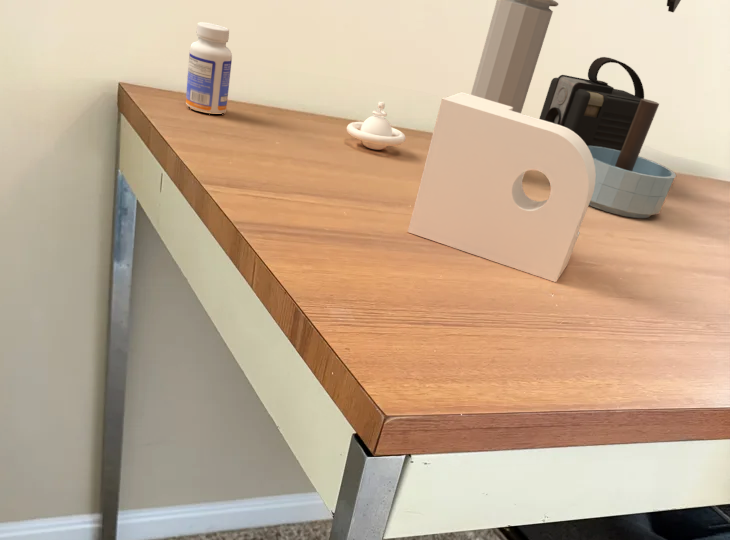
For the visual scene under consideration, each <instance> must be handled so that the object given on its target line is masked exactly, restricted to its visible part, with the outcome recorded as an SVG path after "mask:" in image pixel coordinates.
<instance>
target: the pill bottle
mask: <svg viewBox="0 0 730 540" xmlns="http://www.w3.org/2000/svg"><path fill="white" fill-rule="evenodd" d="M196 37H197V40H196V41H193V42H192V43H191V44H190V46H189V54H188V67H187V68H188V69H187V81H186V93H185V105H186V104H187V105H188V106H190V107H192V108H195V109H198V110H202V111H207V112H211V113H224V112H225V113H226V112H227V107H228V99H229V90H230V80H231V72H232V71H231V70H232V60H233V53H232V51H231V49H230V48H229V47H227V43H228V42H229V39H230V29H229V28H227V27H226V26H223V25H220V24H216V23H213V22H212V23H211V22H206V21H199V22H197V25H196ZM225 113H224V114H225Z"/></svg>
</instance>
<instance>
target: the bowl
mask: <svg viewBox="0 0 730 540" xmlns="http://www.w3.org/2000/svg"><path fill="white" fill-rule="evenodd" d="M588 148H589V150H590V152H591V154H592V157H593V160H594V165H595V173H596V179H595V187H594V192H593V195H592V198H591V201H590V203H589V206H590V207H592V208H594V209H597V210H600V211H603V212H606V213H609V214H613V215H618V216H621V217H627V218H633V219H648V218H650V217H652V216H653V215H659V214H660V213H661V212H662V210H663V208H664V205H665V203H666V200H667V198H668V196H669V193H670V192H671V189H672V186H673V185H674V182H675V180H676V178H677V173H675V171H674V170H671V169H670V168H669V167H667V166H665V165H664V164H661V163H659V162H656V161H653V160H652V159H648V158H646V157H643V156H640V155H639V156H638V158H637V161H636V163H635V166H634V168H633V171H629V170H625V169H622V168H619V167H616V166H615V164H616V162H617V159H618V157H619V154H620V151H619V150H615V149H611V148H605V147H600V146H590V145H589V146H588Z"/></svg>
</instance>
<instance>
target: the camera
mask: <svg viewBox="0 0 730 540" xmlns="http://www.w3.org/2000/svg"><path fill="white" fill-rule="evenodd" d="M610 63H611V64H612V63H614V64H618V65H620V67H622V68H623V69H624V70H625V71H626V72H627V74H628V76H629V77H630V79H631V81H632V85H633V88H634V94H633V93H630V92H629V91H626V90H623V89H618V88H615V87H613V86H611V85H609V83H608V82H607V81H604V80H598V74H599V71H600V69H601V68H602V67H603V66H604V65H606V64H610ZM641 99H645V90H644V85H643V82H642V81H641V78H640V76H639V75H638V74H637V72H636V71H635V70H634V69H633V67H631V66H629V65H628V64H626V63H625V62H623V61H620V60H618V59H615V58H612V57H609V56H608V57H607V56H600V57H597V58H596V59H594V60H593V61H592V63H591V64H590V66H589V68H588V71H587V78H582V77H577V76H572V75H567V74H561V75H559V76H558V77H553V78H552V79H551V81H550V84H549V87H548V90H547V93H546V96H545V99H544V102H543V106H542V109H541V112H540V115H539V118H538V119H541V120H544V121H548V122H551V123H554V124H558V125H561V126H563V127H566V128H568V129H570V130H572V131H573V132H575V133H576V134H577V135H578V136H579V137H580V138H581V139H582V140H583V141H584V142H585V144H586V145H587V146H589V145H590V146H600V147H605V148H611V149H615V150H619V151H621V149H622V146H623V144H624V141H625V139H626V136H627V134H628V131H629V128H630V126H631V123H632V121H633V118H634V116H635V113H636V110H637V108H638V105H639V103H640V100H641Z"/></svg>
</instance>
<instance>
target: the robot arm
mask: <svg viewBox="0 0 730 540" xmlns="http://www.w3.org/2000/svg"><path fill="white" fill-rule="evenodd" d="M681 1H682V0H666V7H668V8H667V12H670V13H675V11H676V9H677V8H678V6H679V4H680V2H681Z"/></svg>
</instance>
